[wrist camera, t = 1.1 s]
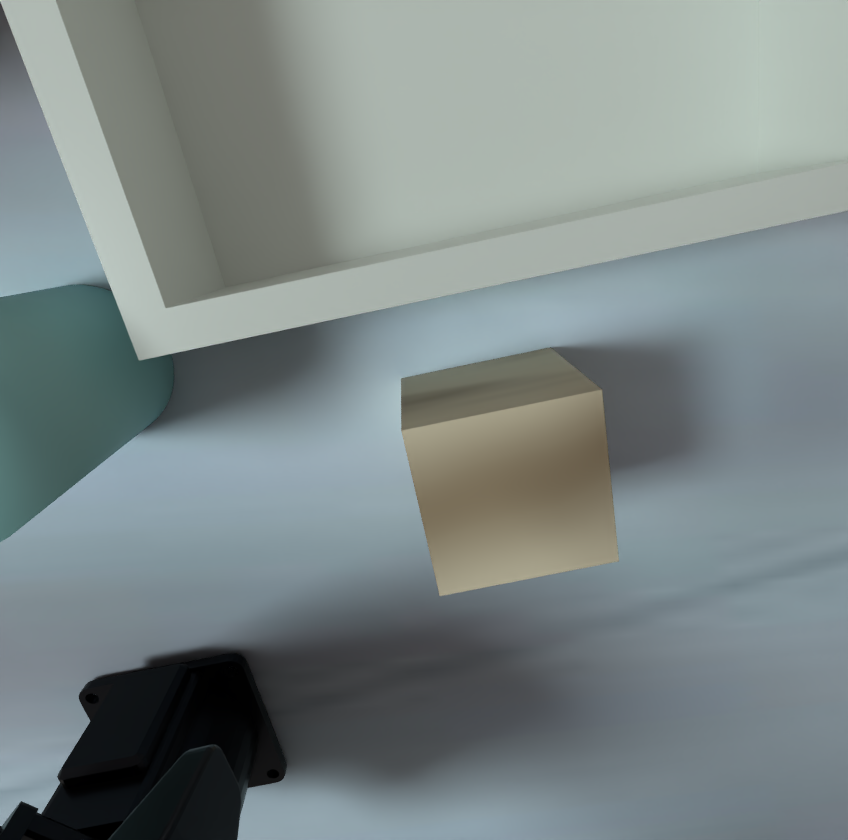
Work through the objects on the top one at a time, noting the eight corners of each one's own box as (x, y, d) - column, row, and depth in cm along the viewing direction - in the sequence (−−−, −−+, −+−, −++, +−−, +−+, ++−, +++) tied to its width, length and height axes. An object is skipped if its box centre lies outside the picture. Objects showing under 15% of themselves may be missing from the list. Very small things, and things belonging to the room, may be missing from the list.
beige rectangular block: (566, 481, 20) (619, 561, 15) (430, 508, 20) (439, 596, 15) (549, 346, 18) (601, 389, 14) (401, 377, 18) (401, 430, 14)
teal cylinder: (195, 421, 18) (82, 530, 12) (51, 451, 19) (-140, 575, 12) (140, 269, 17) (-27, 297, 10) (-18, 303, 17) (-283, 353, 10)
